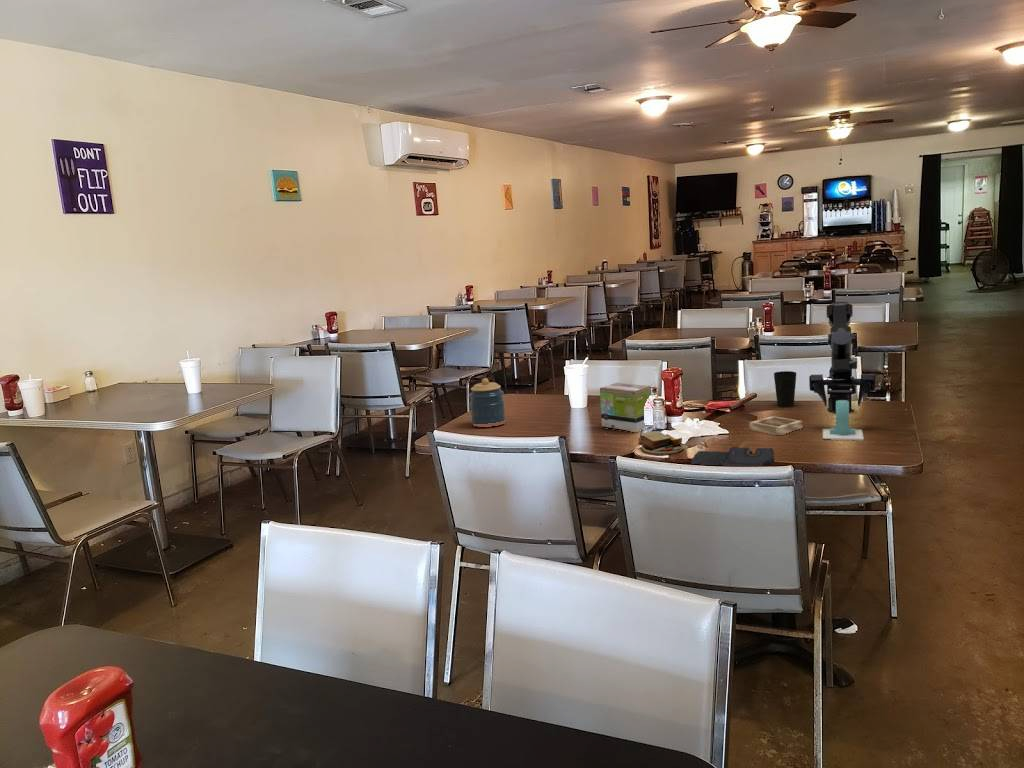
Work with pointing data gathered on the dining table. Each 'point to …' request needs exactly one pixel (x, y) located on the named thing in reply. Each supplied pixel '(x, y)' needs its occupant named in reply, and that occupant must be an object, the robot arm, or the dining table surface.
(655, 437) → the toy sandwich meal
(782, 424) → the socket collar
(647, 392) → the tea box
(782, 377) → the cup
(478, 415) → the canister
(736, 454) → the dark slate chunk
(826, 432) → the mat
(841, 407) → the t key
